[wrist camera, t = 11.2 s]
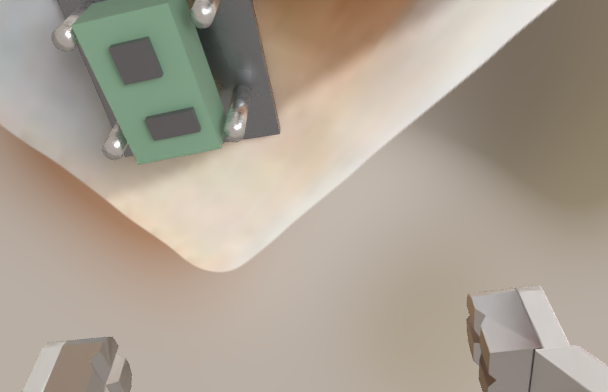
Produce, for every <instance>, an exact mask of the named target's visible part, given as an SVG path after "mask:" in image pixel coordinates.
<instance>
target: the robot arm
mask: <svg viewBox="0 0 608 392" xmlns="http://www.w3.org/2000/svg"><path fill="white" fill-rule="evenodd" d="M467 308H468V311H469V314H470V316H469V317H468V318H467V335H468V342H469V347H470V351H471V354H472V358H473V361H474V362H475V363H476V364H478V365H479V381H480V384H481V388H482V391H483V392H608V366H607V365H605V364H604V363H603V362H601V361H600V360H598V359H597V358H595V357H594V356H593V355H591V354H590V353H588V352H587V351H585V350H584V349H582V348H581V347H579V346H578V345H572V346H570V344H569V342H568V340H567V338H566V336H565V334H564V332H563V330H562V328H561V326H560V324H559V322H558V320H557V318H556V316H555V314H554V312H553V309H552V307H551V305H550V303H549V302H548V299H547V297H546V295H545V293H544V291H543V289H542V288H541V287H540V286H539V285H536V286H528V287H519V288H509V289H501V290H493V291H485V292H478V293H470V294H468V296H467ZM117 349H118V344H117V343H116V341H115V340H114V338H113V337H102V338H91V339H79V340H68V341H60V342H50V343H47V344H46V345H45V346H44V347H43V348H42V350H41V352H40V354H39V356H38V358H37V360H36V362H35V365H34V367H33V369H32V371H31V373H30V375H29V377H28V380H27V382H26V384H25V386H24V388H23V390H22V392H130V389H131V380H132V377H131V376H132V373H131V369H130V365H129V363H128V361H127V360H126V358H125V357H123V356H121V355H120V354H118V353H117Z"/></svg>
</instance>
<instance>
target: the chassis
mask: <svg viewBox="0 0 608 392" xmlns="http://www.w3.org/2000/svg"><path fill="white" fill-rule="evenodd" d="M58 1H59V4H60V6H61V8H62V11H63V13H64V15H65V18H66V20H65V21H64V22H63V23H62V24H61V25H60V26H59V27H58V28H57V29H56V30H55V31H54V32H53V33H52V42H53V44H54V45H55V46H56V47H57V48H58V49H60V50H62V51H71V50H72V49H74V47H75V46H76V45H77V46H78V48H79V50H80V53H81V55H82V57H83V60H84V62H85V64H86V67H87V69H88V71H89V74H90V76H91V78H92V81H93V83H94V85H95V88H96V90H97V92H98V95H99V97H100V99H101V102H102V104H103V106H104V109H105V111H106V113H107V116H108V118H109V120H110V123H111V125H112V127H113V129H112V131H111V133H110V135H109V136H108V138H107V140H106V142H105V144H104V145H103V148H102V151H103V153H104V155H105V156H106V157H107V158H109V159H113V160H117V159H120V158H121V157H122V155H123V153H124V155H125V157H127V156H134V155H133V153H132V151H131V149H130V146H129V144H128V142H127V140H126V138H125V136H124V134H123V132H122V130H121V128H120V126H119V124H118V122H117V120H116V118H115V116H114V113H113V111H112V109H111V107H110V105H109V103H108V101H107V99H106V97H105V95H104V93H103V91H102V89H101V87H100V85H99V83H98V80H97V78H96V76H95V74H94V72H93V70H92V68H91V66H90V64H89V62H88V60H87V58H86V56H85V54H84V52H83V50H82V48H81V45H80V43H79V41H78V39H77V37H76V35H75V33H74V31H73V29H72V27H71V25H72V24H73V23H74V22H75V21H76V20H77V19H78V18H79V17H80V16H81V15H82V14H83V13H84V11H85V10H86V9H87V8H88V7H89V6H90V5H91V4H94V3H98V2H102V1H106V0H58ZM186 2H187V4H188V7H189V10H190V14H189V17H190V20H191V22H192V23H193V24H194V25H195V27H196V30H197V33H198V36H199V39H200V42H201V45H202V48H203V50H204V53H205V56H206V59H207V62H208V65H209V68H210V71H211V73H212V76H213V79H214V82H215V85H216V88H217V91H218V94H219V96H220V99H221V102H222V105H223V108H224V111H225V114H226V117H227V118H226V123H225V127H224V138H223V142H229V141H232V142H238V141H240V140H242V139H249V138H256V137H262V136H269V135H276V134H280V124H279V119H278V115H277V110H276V106H275V101H274V97H273V92H272V88H271V83H270V79H269V74H268V69H267V65H266V60H265V56H264V51H263V47H262V42H261V38H260V33H259V29H258V24H257V20H256V15H255V11H254V6H253V1H252V0H186Z"/></svg>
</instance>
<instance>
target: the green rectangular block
mask: <svg viewBox="0 0 608 392" xmlns="http://www.w3.org/2000/svg"><path fill="white" fill-rule="evenodd" d="M189 14H190V10H189V7H188V4H187V2H186V0H106V1H102V2H98V3H94V4H91V5H90V6H89V7H88V8H87V9H86V10H85V11H84V13H83V14H82V15H81V16H80V17H79V18H78V19H77V20H76V21H75V22H74V23H73V24H72V25H71V27H72V29H73V31H74V33H75V35H76V37H77V39H78V41H79V43H80V45H81V48H82V50H83V52H84V54H85V56H86V58H87V60H88V62H89V64H90V66H91V68H92V70H93V72H94V74H95V76H96V78H97V80H98V83H99V85H100V87H101V89H102V91H103V93H104V95H105V97H106V99H107V101H108V103H109V105H110V107H111V109H112V111H113V113H114V116H115V118H116V120H117V122H118V124H119V126H120V128H121V130H122V132H123V134H124V136H125V138H126V140H127V142H128V144H129V146H130V149H131V151H132V153H133V155H134V157H135V159H136V161H137V163H138V165H139V164H145V163H150V162H155V161H160V160H165V159H170V158H175V157H180V156H185V155H190V154H195V153H200V152H205V151H210V150H215V149H220V148H221V147H222V143H223V138H224V127H225V123H226V118H227V117H226V114H225V111H224V108H223V105H222V102H221V99H220V96H219V94H218V91H217V88H216V85H215V82H214V79H213V76H212V73H211V71H210V68H209V65H208V62H207V59H206V56H205V53H204V50H203V48H202V45H201V42H200V39H199V36H198V33H197V30H196V27H195V25H194V24H193V23H192V22H191V20H190V17H189Z"/></svg>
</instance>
